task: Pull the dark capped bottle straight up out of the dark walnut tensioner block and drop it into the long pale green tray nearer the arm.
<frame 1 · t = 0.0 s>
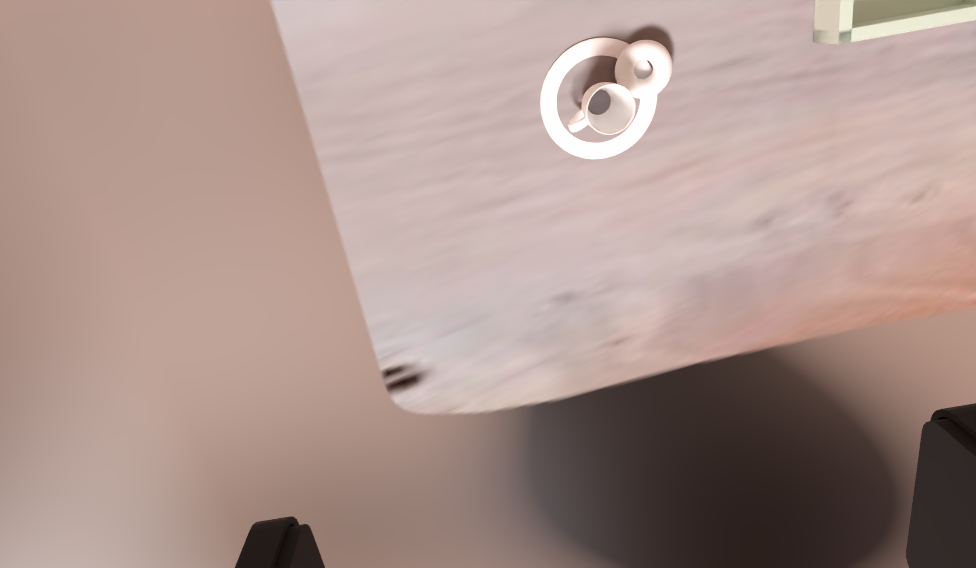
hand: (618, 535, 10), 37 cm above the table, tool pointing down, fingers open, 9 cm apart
teacup and saucer: (635, 117, 44), on the table
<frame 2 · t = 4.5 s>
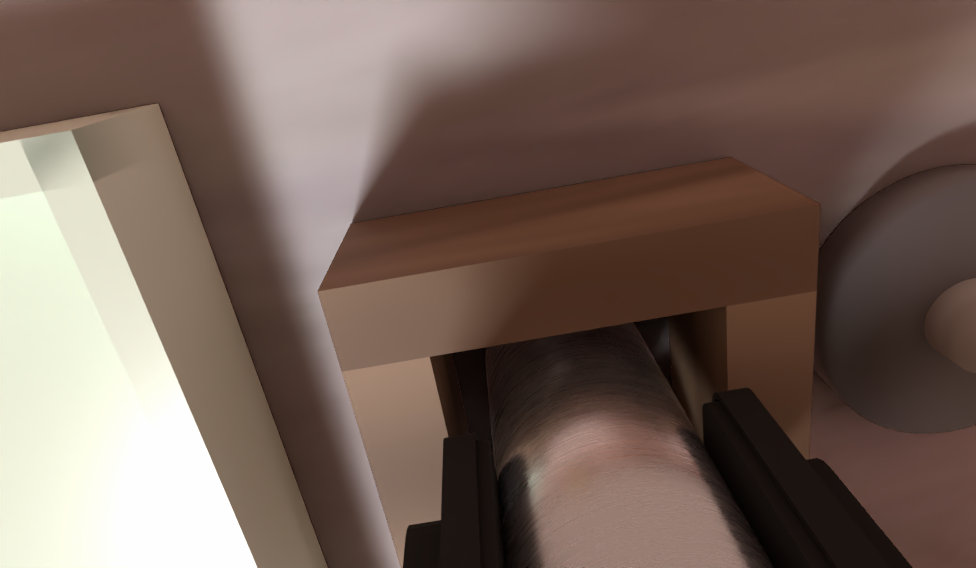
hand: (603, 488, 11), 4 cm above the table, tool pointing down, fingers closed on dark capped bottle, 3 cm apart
tray: (88, 489, 16), on the table
dark capped bottle: (603, 489, 11), in the tensioner block, touching gripper
tensioner block: (562, 355, 15), on the table
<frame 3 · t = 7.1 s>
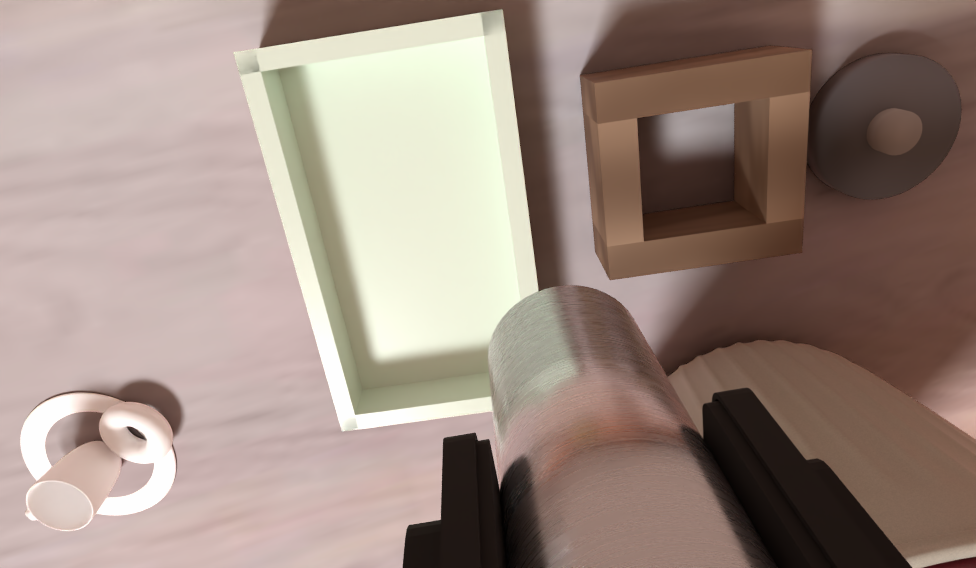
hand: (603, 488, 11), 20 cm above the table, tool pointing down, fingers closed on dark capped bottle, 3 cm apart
canister: (735, 432, 34), on the table
tray: (417, 226, 29), on the table
dark capped bottle: (607, 489, 11), point 20 cm above the table, touching gripper
teacup and saucer: (163, 467, 35), on the table
tensioner block: (677, 154, 28), on the table
when the fingers open (7 cm above the table, at t = 9.7 s): dark capped bottle drops 2 cm, resting on tray.
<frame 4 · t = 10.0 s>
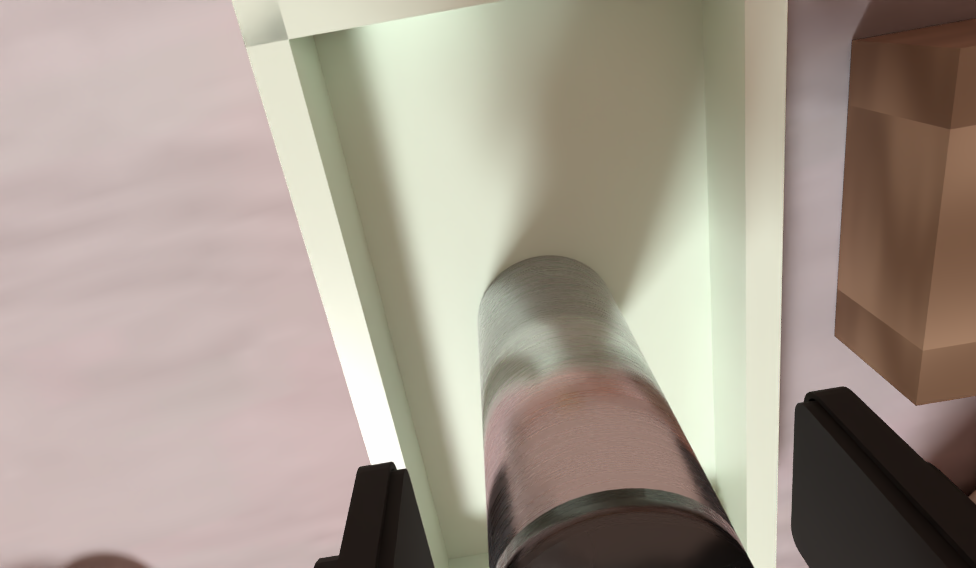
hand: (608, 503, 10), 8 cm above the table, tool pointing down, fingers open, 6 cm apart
tray: (546, 305, 17), on the table
dark capped bottle: (574, 422, 12), in the tray, point 5 cm above the table
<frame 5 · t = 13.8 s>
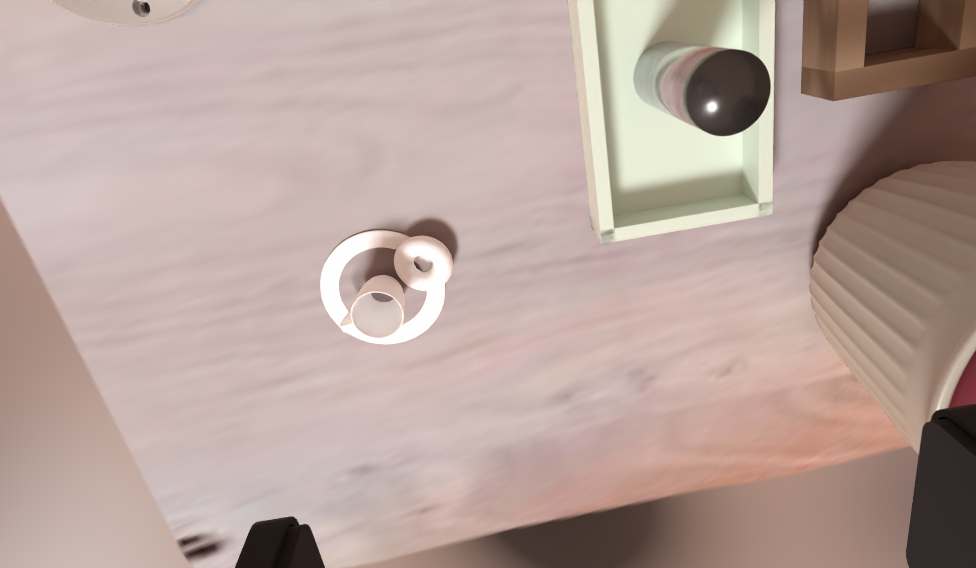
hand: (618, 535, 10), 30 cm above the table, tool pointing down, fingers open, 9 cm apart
canister: (895, 255, 42), on the table
tray: (663, 73, 36), on the table
dark capped bottle: (692, 83, 31), in the tray, point 5 cm above the table
teacup and saucer: (428, 302, 42), on the table
tensioner block: (874, 7, 35), on the table
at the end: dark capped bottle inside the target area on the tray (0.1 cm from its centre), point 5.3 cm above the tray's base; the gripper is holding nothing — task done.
